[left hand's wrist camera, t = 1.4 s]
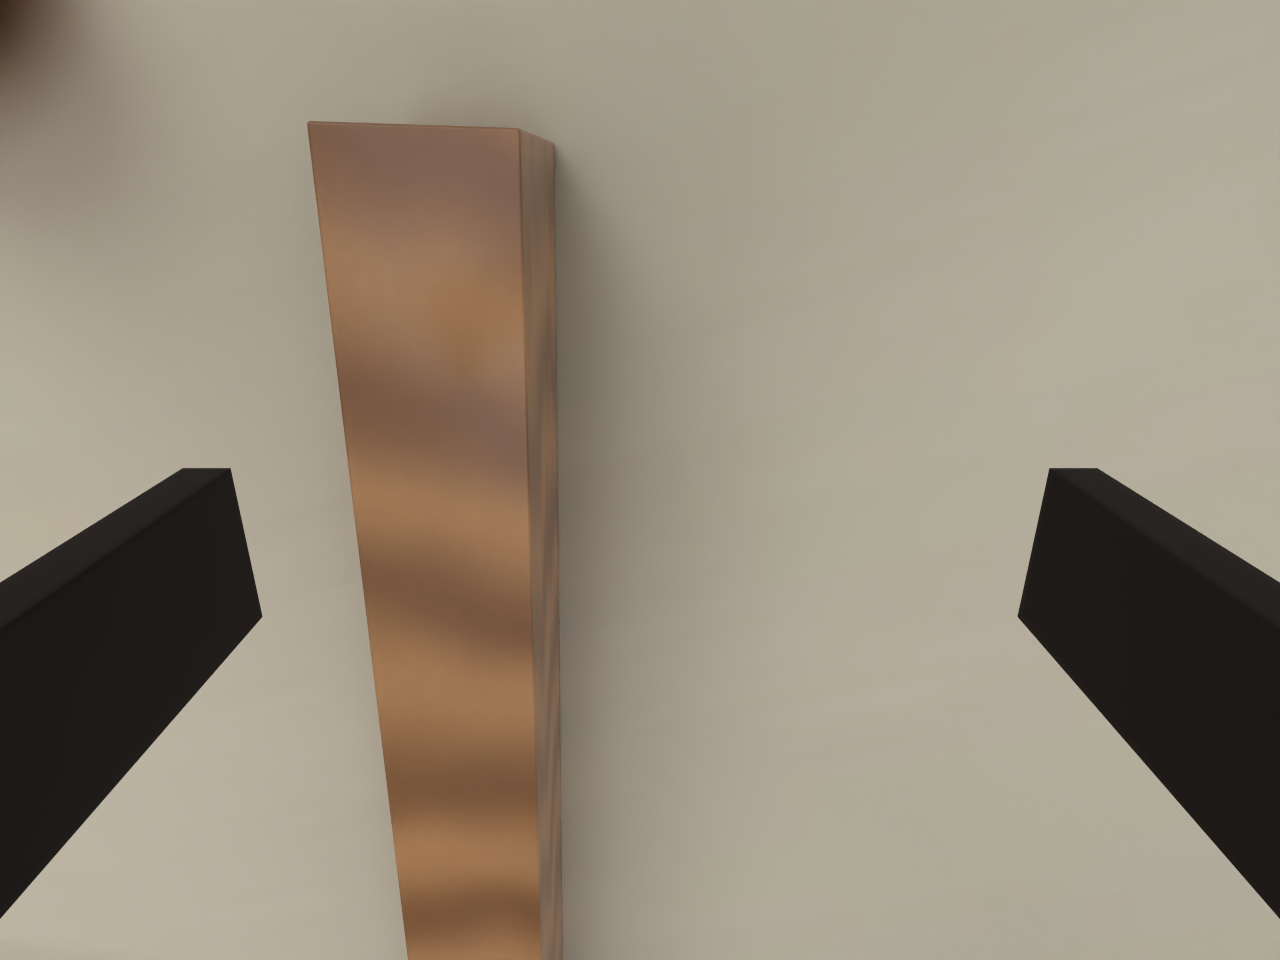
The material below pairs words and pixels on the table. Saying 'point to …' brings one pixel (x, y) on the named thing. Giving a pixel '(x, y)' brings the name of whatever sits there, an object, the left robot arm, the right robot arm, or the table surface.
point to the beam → (455, 511)
